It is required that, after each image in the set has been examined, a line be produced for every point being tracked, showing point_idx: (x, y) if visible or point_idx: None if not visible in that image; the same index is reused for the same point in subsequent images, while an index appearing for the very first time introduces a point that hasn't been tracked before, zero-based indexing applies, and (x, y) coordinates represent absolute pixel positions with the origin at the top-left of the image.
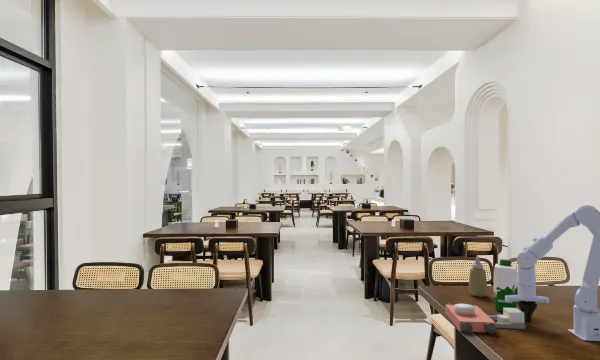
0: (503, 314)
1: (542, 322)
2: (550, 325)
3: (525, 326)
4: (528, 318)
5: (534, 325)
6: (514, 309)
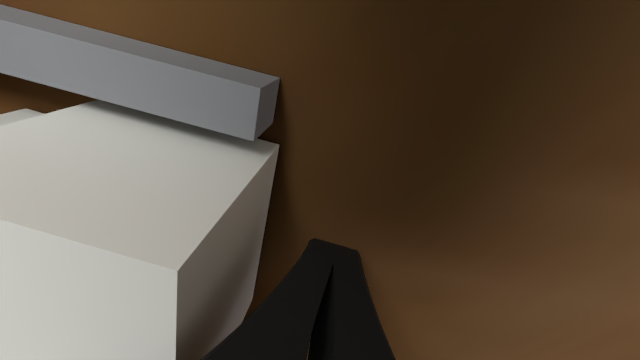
0: (18, 134)
1: (625, 219)
2: (601, 316)
3: None
4: (309, 350)
5: (402, 279)
6: (74, 331)
